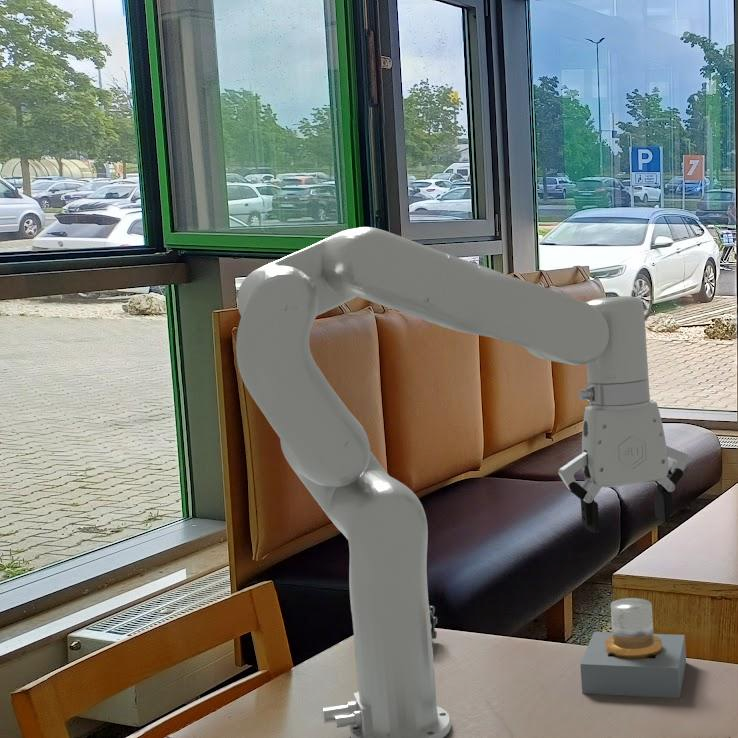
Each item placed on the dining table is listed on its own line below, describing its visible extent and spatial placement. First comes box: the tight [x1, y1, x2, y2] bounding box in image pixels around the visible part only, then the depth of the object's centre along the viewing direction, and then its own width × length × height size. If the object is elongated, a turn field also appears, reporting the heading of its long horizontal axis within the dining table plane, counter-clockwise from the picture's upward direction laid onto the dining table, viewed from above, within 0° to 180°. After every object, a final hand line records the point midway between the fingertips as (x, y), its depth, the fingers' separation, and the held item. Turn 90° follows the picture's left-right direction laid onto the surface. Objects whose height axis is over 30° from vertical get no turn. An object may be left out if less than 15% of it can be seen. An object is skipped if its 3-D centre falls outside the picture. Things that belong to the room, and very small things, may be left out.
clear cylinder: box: [605, 597, 662, 659], centre depth 149 cm, size 7×7×10 cm
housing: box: [580, 631, 687, 699], centre depth 149 cm, size 12×12×5 cm
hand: (628, 525), depth 147 cm, fingers open, 9 cm apart
